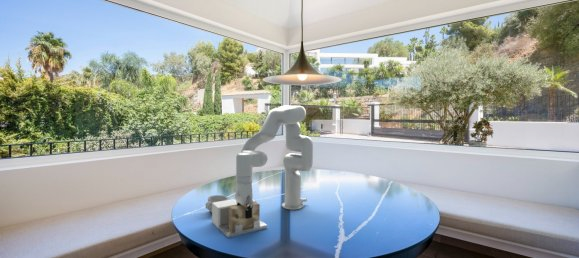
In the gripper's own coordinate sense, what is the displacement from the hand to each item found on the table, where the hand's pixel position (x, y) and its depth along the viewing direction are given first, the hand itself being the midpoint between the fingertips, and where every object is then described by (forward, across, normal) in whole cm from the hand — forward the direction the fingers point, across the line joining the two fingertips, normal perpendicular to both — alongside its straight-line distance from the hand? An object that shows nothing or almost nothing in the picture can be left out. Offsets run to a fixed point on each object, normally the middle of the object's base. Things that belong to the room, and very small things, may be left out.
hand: (244, 214), depth 134 cm
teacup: (+7, -29, -4) cm, 30 cm away
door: (+6, 0, 0) cm, 6 cm away
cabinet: (+7, -12, 0) cm, 14 cm away
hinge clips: (+7, -1, 0) cm, 7 cm away
